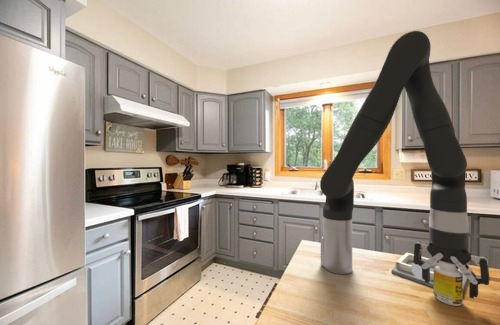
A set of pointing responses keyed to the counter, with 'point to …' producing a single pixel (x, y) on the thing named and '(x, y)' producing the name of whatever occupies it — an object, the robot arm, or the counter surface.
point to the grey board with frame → (416, 270)
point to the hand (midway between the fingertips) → (448, 289)
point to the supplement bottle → (448, 283)
